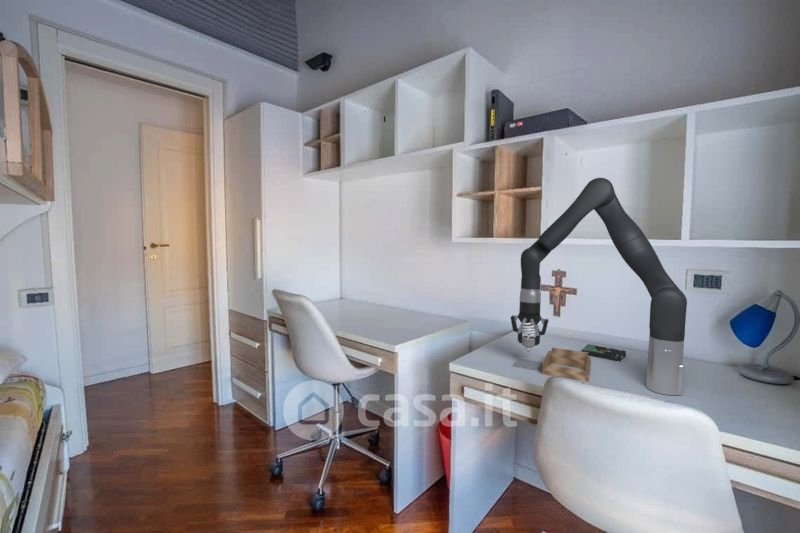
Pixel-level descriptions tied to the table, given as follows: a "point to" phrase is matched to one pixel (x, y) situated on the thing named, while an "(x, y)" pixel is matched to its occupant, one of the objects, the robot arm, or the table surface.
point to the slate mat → (527, 364)
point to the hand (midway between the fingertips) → (528, 343)
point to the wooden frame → (567, 364)
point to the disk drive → (604, 352)
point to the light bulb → (528, 337)
